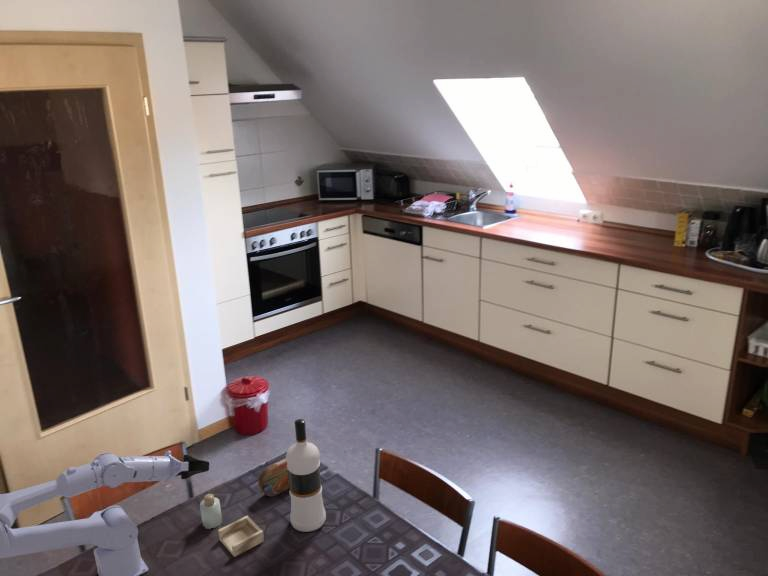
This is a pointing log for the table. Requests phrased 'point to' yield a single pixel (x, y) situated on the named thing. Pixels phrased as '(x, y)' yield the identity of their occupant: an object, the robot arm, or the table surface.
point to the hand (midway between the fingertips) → (200, 467)
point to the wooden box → (241, 536)
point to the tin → (274, 478)
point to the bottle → (210, 511)
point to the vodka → (305, 483)
